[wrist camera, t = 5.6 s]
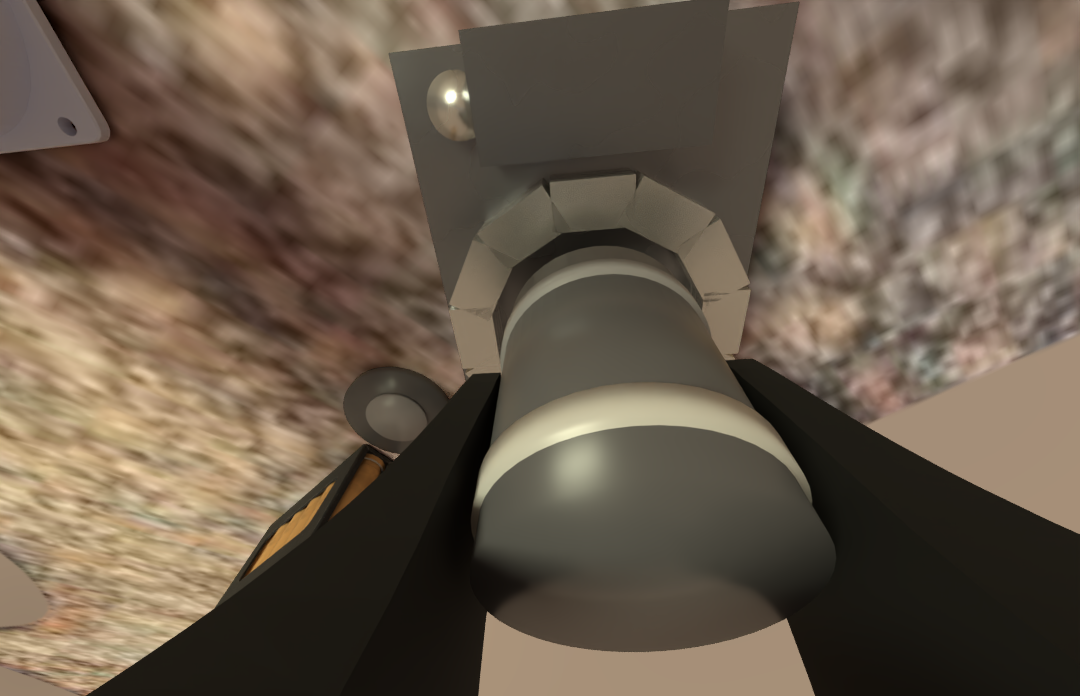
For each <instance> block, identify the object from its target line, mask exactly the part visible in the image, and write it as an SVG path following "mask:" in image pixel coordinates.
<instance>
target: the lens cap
mask: <svg viewBox="0 0 1080 696" xmlns="http://www.w3.org/2000/svg"><path fill="white" fill-rule="evenodd" d="M448 401H449V399H448V397H447V396H446V394H445V393H444V392H443V391H442V389H441V388H440V387H439V386H438V385H436V384H435V383H434V382H433V381H431V380H430V379H428V378H427V377H425V376H423V375H421V374H419V373H417V372H414V371H411V370H408V369H403V368H398V367H381V368H376V369H372V370H369V371H367V372H365V373H363V374H361V375H360V376H359V377H357V378H356V379H355V381H354V382H353V383H352V384H351V386H350V387H349V388H348V390H347V392H346V394H345V397H344V402H343V404H344V412H345V415H346V418H347V420H348V422H349V424H350V425H351V427H352V428H353V429H354V430H355V432H356V433H357V434H358V435H360V436H361V437H362V438H363V439H364V440H366V441H367V442H369V443H370V444H372V445H374V446H376V447H378V448H380V449H383V450H385V451H389V452H392V453H397V454H401V453H402V452H403V451H404V450H405V449H406V448H407V447H408V446H409V445H410V444H411V443H412V442H413V441H414V440H415V438H416V437H417V436H418V435H419V434H420V433H421V432H422V431H423V430H424V429H425V427H426V426H427V425H428V424H429V423H430V422H431V421H432V420H433V419H434V418H435V416H436V415H437V414H438V413H439V412H440V411H441V410H442V408H443V407H444V406H445V405H446V404H447V403H448Z"/></svg>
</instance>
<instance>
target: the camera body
mask: <svg viewBox="0 0 1080 696" xmlns="http://www.w3.org/2000/svg"><path fill="white" fill-rule="evenodd" d="M728 7H729V0H690V1H683V2H675V3H667V4H659V5H651V6H644V7H636V8H628V9H620V10H612V11H605V12H597V13H589V14H581V15H573V16H566V17H558V18H550V19H542V20H534V21H527V22H519V23H511V24H503V25H495V26H488V27H480V28H472V29H464V30H459V37H460V43H461V44H457V45H449V46H441V47H433V48H425V49H417V50H409V51H401V52H393V53H389V58H390V62H391V66H392V70H393V75H394V79H395V83H396V87H397V92H398V96H399V100H400V104H401V108H402V113H403V117H404V121H405V125H406V130H407V134H408V138H409V142H410V147H411V151H412V155H413V159H414V164H415V168H416V172H417V176H418V180H419V185H420V189H421V193H422V197H423V202H424V206H425V210H426V214H427V219H428V223H429V227H430V231H431V236H432V240H433V244H434V248H435V252H436V257H437V261H438V265H439V269H440V274H441V278H442V282H443V286H444V291H445V295H446V299H447V303H448V308H449V314H450V318H451V322H452V326H453V331H454V335H455V339H456V343H457V347H458V352H459V356H460V360H461V364H462V369H463V371H464V375H465V380H466V381H467V380H468V379H469V377H470V376H471V375H472V374H480V373H499V372H501V366H500V354H501V347H502V342H503V336H504V330H505V327H506V324H507V321H508V319H509V317H510V315H511V313H512V310H513V307H514V304H515V301H516V299H517V297H518V295H519V293H520V291H521V289H522V288H523V286H524V285H525V284H526V282H527V281H528V280H529V279H530V278H531V277H532V276H533V274H534V273H535V272H537V271H538V270H539V269H540V268H542V267H543V266H544V265H545V264H547V263H549V262H550V261H552V260H553V259H555V258H557V257H559V256H561V255H564V254H566V253H568V252H572V251H575V250H578V249H582V248H587V247H594V246H618V247H623V248H629V249H633V250H636V251H639V252H642V253H644V254H646V255H648V256H650V257H652V258H654V259H655V260H657V261H658V262H660V263H661V264H663V265H664V266H665V267H666V268H667V269H668V270H669V271H670V272H671V273H672V274H673V275H674V277H675V278H676V279H677V280H678V281H679V282H680V283H681V284H682V285H683V286H684V287H685V288H686V289H687V290H688V291H689V292H690V294H691V295H692V296H693V298H694V299H695V300H696V302H697V304H698V305H699V307H700V309H701V310H702V312H703V314H704V316H705V318H706V320H707V322H708V325H709V328H710V331H711V337H712V339H713V341H714V342H715V344H716V346H717V347H718V349H719V351H720V352H721V354H722V356H723V357H724V359H725V360H735V357H734V356H733V355H732V354H736V353H738V352H739V347H740V342H741V337H742V332H743V327H744V322H745V317H746V312H747V307H748V302H749V297H750V292H751V289H750V288H749V287H748V286H747V285H748V284H750V281H749V279H748V277H747V275H748V269H749V264H750V259H751V254H752V248H753V243H754V238H755V233H756V227H757V222H758V217H759V212H760V206H761V201H762V196H763V191H764V185H765V180H766V175H767V170H768V165H769V159H770V154H771V149H772V144H773V138H774V133H775V128H776V123H777V117H778V112H779V107H780V102H781V96H782V91H783V86H784V81H785V75H786V70H787V65H788V60H789V54H790V49H791V44H792V39H793V33H794V28H795V23H796V18H797V13H798V7H799V2H793V3H785V4H777V5H769V6H761V7H753V8H745V9H737V10H729V11H728ZM501 376H502V372H501Z"/></svg>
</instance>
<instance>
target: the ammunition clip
mask: <svg viewBox="0 0 1080 696" xmlns="http://www.w3.org/2000/svg"><path fill="white" fill-rule="evenodd" d="M391 463H392V461H391V460H389V459H388V458H386V457H385V456H383V455H382V454H380V453H378V452H377V451H375V450H374V449H372V448H371V447H369V446H367V445H365V444H364V445H362V446H361V447H360V448H359V449H358V450H357V451H356V452H354V453H353V454H352V455H351V456H350V457H349V458H348V459H346V460H345V461H344V462H343V463H342V464H341V465H340V466H338V467H337V468H336V469H335V470H334V471H333V472H332V473H330V474H329V475H328V476H327V477H326V478H325V479H323V480H322V481H321V482H320V483H319V484H318V485H317V486H315V487H314V488H313V489H312V490H311V491H310V492H309V493H307V494H306V495H305V496H304V497H303V498H302V499H301V500H299V501H298V502H297V503H296V504H295V505H294V506H293V507H291V508H290V509H289V510H288V511H287V512H286V513H285V514H283V515H282V516H281V517H280V518H279V519H278V520H277V521H275V522H274V523H273V524H272V525H271V526H270V527H269V529H268V530H267V532H266V533H265V535H264V536H263V538H262V539H261V541H260V542H259V544H258V545H257V547H256V548H255V549H254V551H253V552H252V554H251V555H250V557H249V558H248V560H247V561H246V563H245V564H244V566H243V567H242V569H241V570H240V572H239V573H238V575H237V576H236V578H235V579H234V580H233V582H232V583H231V585H230V586H229V588H228V589H227V591H226V592H225V594H224V595H223V597H222V598H221V600H220V601H219V603H218V604H217V606H216V607H218V606H219V605H220V604H222V603H223V602H225V601H226V600H227V599H229V598H230V597H232V596H233V595H234V594H236V593H237V592H238V591H240V590H241V589H242V588H244V587H245V586H246V585H248V584H249V583H250V582H252V581H253V580H254V579H255V578H257V577H258V576H259V575H261V574H262V573H263V572H265V571H266V570H267V569H268V568H270V567H271V566H272V565H274V564H275V563H276V562H278V561H279V560H280V559H281V558H283V557H284V556H285V555H287V554H288V553H289V552H290V551H292V550H293V549H294V548H296V547H297V546H298V545H300V544H301V543H302V542H303V541H305V540H306V539H307V538H309V537H310V536H311V535H312V534H314V533H315V532H316V531H317V530H318V529H320V528H321V527H322V526H323V525H324V524H325V523H327V522H328V521H329V520H330V519H331V518H332V517H334V516H335V515H336V514H337V513H338V512H339V511H341V510H342V509H343V508H344V507H345V506H346V505H348V504H349V503H350V502H351V501H352V500H353V499H354V498H356V497H357V496H358V495H359V494H360V493H361V492H362V491H363V490H364V489H365V488H367V487H368V486H369V485H370V484H371V483H372V482H373V481H374V480H375V479H376V478H377V477H378V476H379V475H380V474H381V473H382V472H383V471H384V470H385V469H386V468H387V467H388V466H389V465H390V464H391ZM216 607H215V608H216ZM215 608H214V609H215Z"/></svg>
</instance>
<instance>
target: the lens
mask: <svg viewBox="0 0 1080 696" xmlns="http://www.w3.org/2000/svg"><path fill="white" fill-rule="evenodd" d="M500 366H501V372H502V376H501V382H500V388H499V394H498V400H497V407H496V413H495V419H494V425H493V431H492V437H491V443H490V449H489V450H488V452H487V453H486V455H485V457H484V459H483V462H482V464H481V467H480V469H479V474H478V480H477V485H476V491H475V497H474V502H473V508H472V514H471V530H472V534H473V537H474V547H473V553H472V559H471V566H470V572H469V577H470V585H471V588H472V590H473V593H474V595H475V597H476V598H477V600H478V601H479V603H480V604H481V605H482V606H483V607H484V608H485V609H486V610H487V611H488V612H489V613H490V614H491V615H493V616H494V617H495V618H497V619H498V620H499V621H501V622H503V623H504V624H506V625H508V626H510V627H512V628H514V629H516V630H518V631H520V632H522V633H525V634H528V635H530V636H533V637H536V638H539V639H542V640H545V641H549V642H553V643H557V644H561V645H566V646H571V647H577V648H584V649H591V650H601V651H618V652H649V651H650V652H651V651H666V650H677V649H685V648H692V647H699V646H704V645H709V644H714V643H719V642H722V641H727V640H731V639H735V638H738V637H741V636H744V635H747V634H751V633H754V632H756V631H759V630H761V629H764V628H767V627H769V626H771V625H773V624H775V623H777V622H780V621H781V620H784V619H785V618H787V617H789V616H791V615H792V614H794V613H796V612H798V611H799V610H800V609H802V608H803V607H805V606H806V605H807V604H809V603H810V602H811V601H812V600H813V599H814V598H815V597H816V596H817V595H818V594H820V593H821V591H822V590H823V589H824V587H825V586H826V585H827V583H828V582H829V580H830V578H831V576H832V574H833V572H834V569H835V563H836V552H835V545H834V543H833V541H832V539H831V537H830V535H829V533H828V531H827V529H826V528H825V526H824V524H823V523H822V521H821V519H820V518H819V516H818V514H817V513H816V511H815V509H814V508H813V506H812V496H811V491H810V486H809V484H808V482H807V480H806V478H805V475H804V473H803V472H802V470H801V469H800V467H799V465H798V464H797V462H796V461H795V459H794V457H793V456H792V454H791V453H790V451H789V449H788V448H787V446H786V445H785V443H784V441H783V440H782V438H781V437H780V435H779V434H778V433H777V431H776V430H775V429H774V427H773V426H772V425H771V424H770V423H769V422H768V421H767V420H766V419H765V418H764V417H762V416H761V415H760V414H759V413H758V412H756V411H755V409H754V407H753V406H752V404H751V402H750V401H749V399H748V397H747V396H746V394H745V392H744V391H743V389H742V387H741V386H740V384H739V382H738V381H737V379H736V377H735V376H734V374H733V372H732V371H731V369H730V367H729V366H728V364H727V362H726V361H725V359H724V357H723V356H722V354H721V352H720V351H719V349H718V347H717V346H716V344H715V342H714V341H713V339H712V337H711V331H710V328H709V325H708V322H707V320H706V318H705V316H704V314H703V312H702V310H701V309H700V307H699V305H698V304H697V302H696V300H695V299H694V298H693V296H692V295H691V294H690V292H689V291H688V290H687V289H686V288H685V287H684V286H683V285H682V284H681V283H680V282H679V281H678V280H677V279H676V278H675V277H674V275H673V274H672V273H671V272H670V271H669V270H668V269H667V268H666V267H665V266H664V265H663V264H661V263H660V262H658V261H657V260H655V259H654V258H652V257H650V256H648V255H646V254H644V253H642V252H639V251H636V250H633V249H629V248H623V247H618V246H594V247H587V248H582V249H578V250H575V251H572V252H568V253H566V254H564V255H561V256H559V257H557V258H555V259H553V260H552V261H550V262H549V263H547V264H545V265H544V266H543V267H542V268H540V269H539V270H538V271H537V272H535V273H534V274H533V276H532V277H531V278H530V279H529V280H528V281H527V282H526V284H525V285H524V286H523V288H522V289H521V291H520V293H519V295H518V297H517V299H516V301H515V304H514V307H513V310H512V313H511V315H510V317H509V319H508V321H507V324H506V327H505V330H504V336H503V342H502V347H501V354H500Z"/></svg>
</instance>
